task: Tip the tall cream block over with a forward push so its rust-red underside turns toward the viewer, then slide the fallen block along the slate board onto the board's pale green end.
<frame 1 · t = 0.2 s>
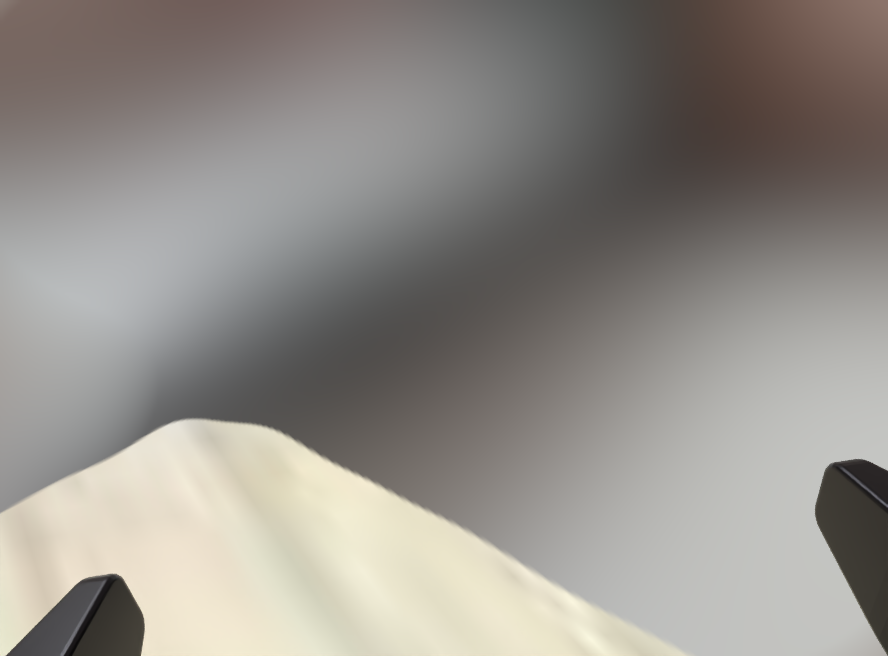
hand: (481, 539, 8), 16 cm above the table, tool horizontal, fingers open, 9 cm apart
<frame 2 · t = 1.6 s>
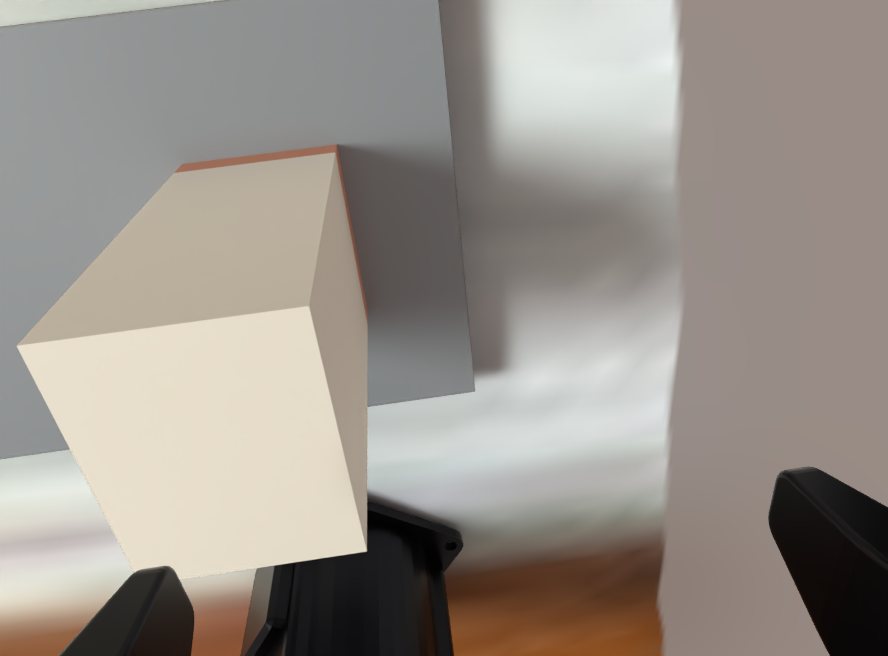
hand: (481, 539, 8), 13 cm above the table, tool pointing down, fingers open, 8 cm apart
cream block: (281, 243, 18), point 1 cm above the table, touching board
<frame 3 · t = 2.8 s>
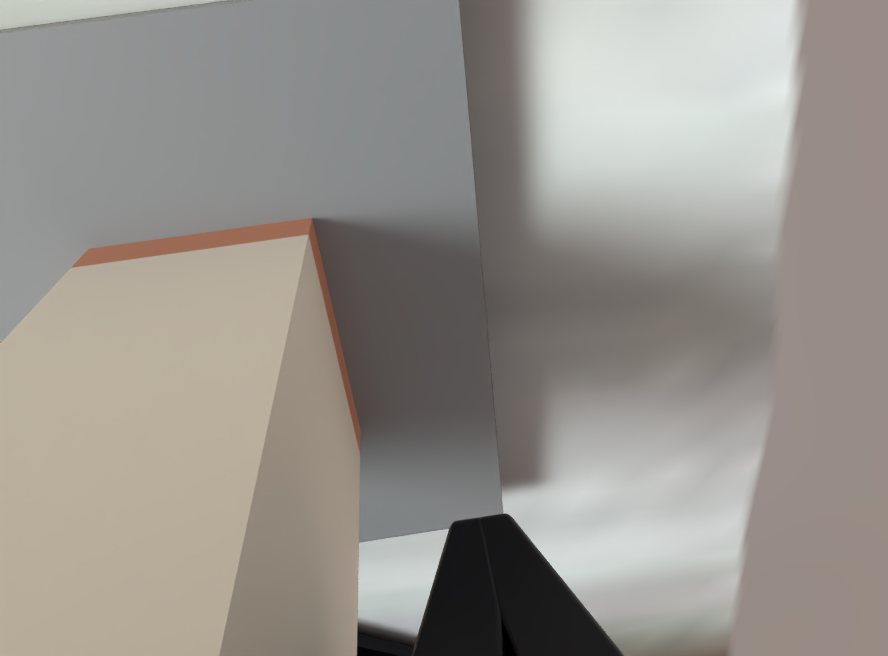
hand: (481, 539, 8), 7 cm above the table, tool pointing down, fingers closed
cream block: (239, 349, 13), point 1 cm above the table, touching board, gripper
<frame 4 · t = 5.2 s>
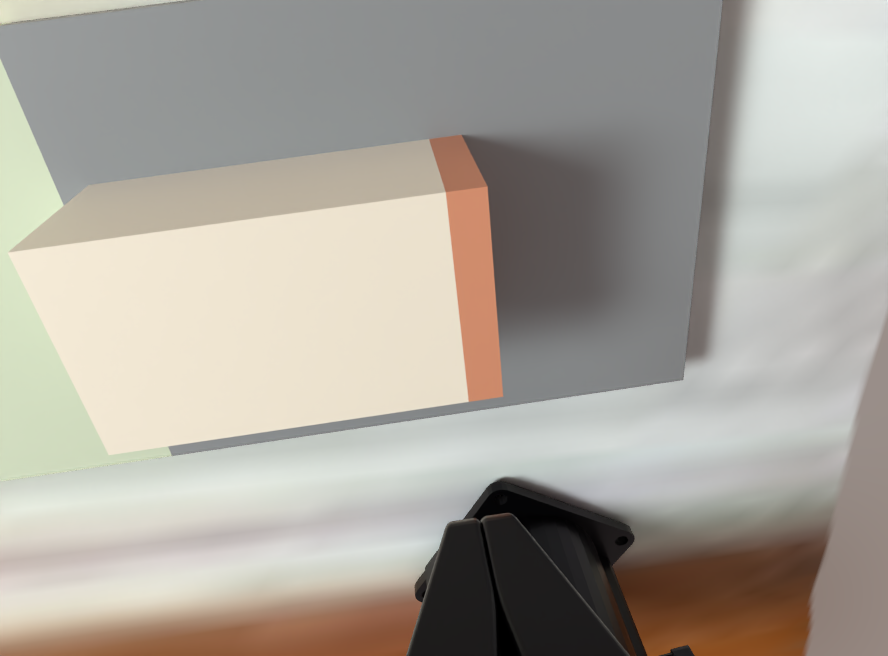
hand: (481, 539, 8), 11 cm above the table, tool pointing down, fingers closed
cream block: (481, 261, 15), point 3 cm above the table, tilted 90°, touching board
board: (185, 252, 18), on the table
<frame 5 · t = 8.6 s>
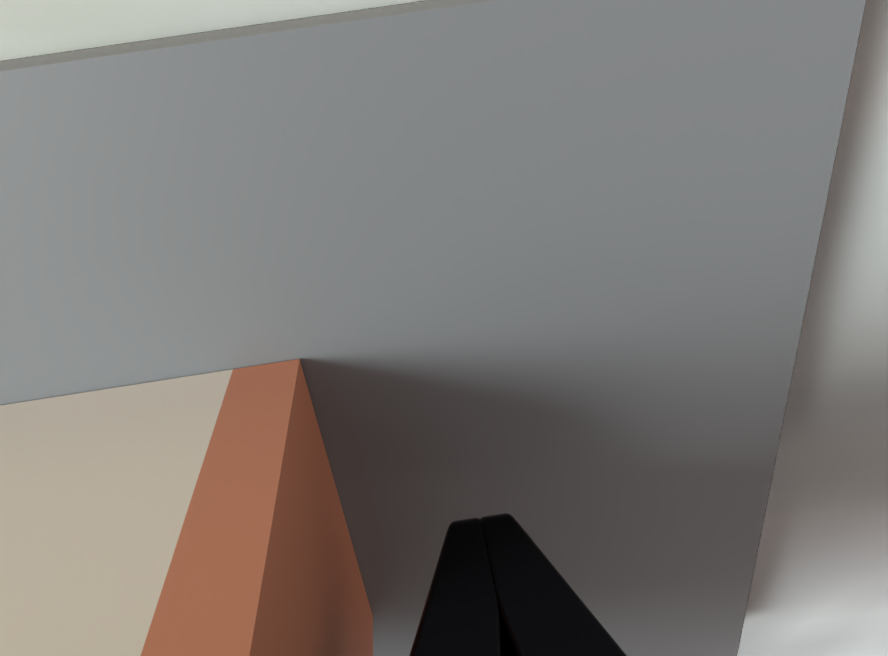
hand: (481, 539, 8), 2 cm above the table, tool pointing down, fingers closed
cream block: (335, 637, 7), point 3 cm above the table, tilted 90°, touching gripper
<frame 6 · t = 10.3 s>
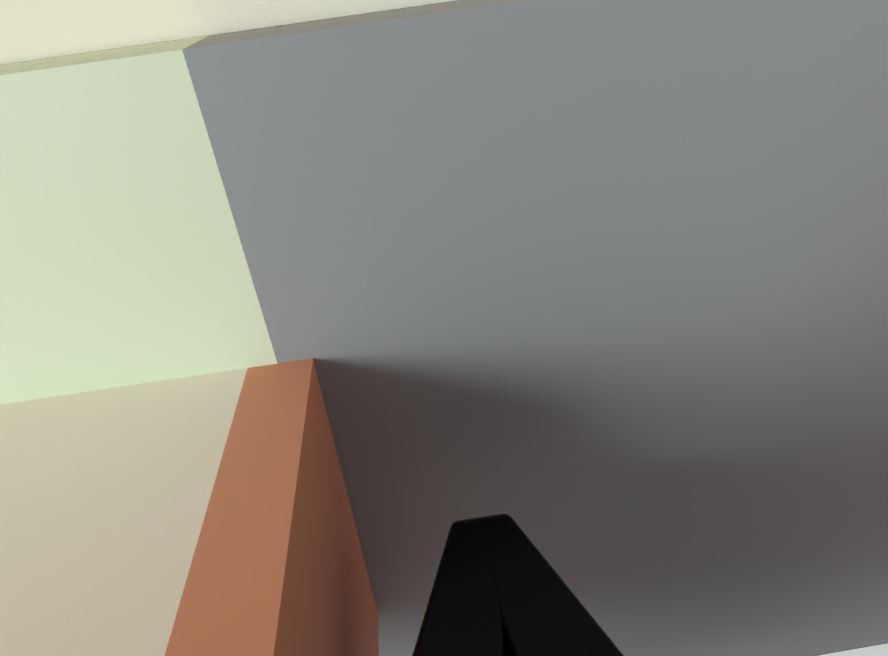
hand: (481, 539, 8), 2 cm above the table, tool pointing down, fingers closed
cream block: (346, 632, 7), point 3 cm above the table, tilted 90°, touching board, gripper
board: (450, 428, 10), on the table
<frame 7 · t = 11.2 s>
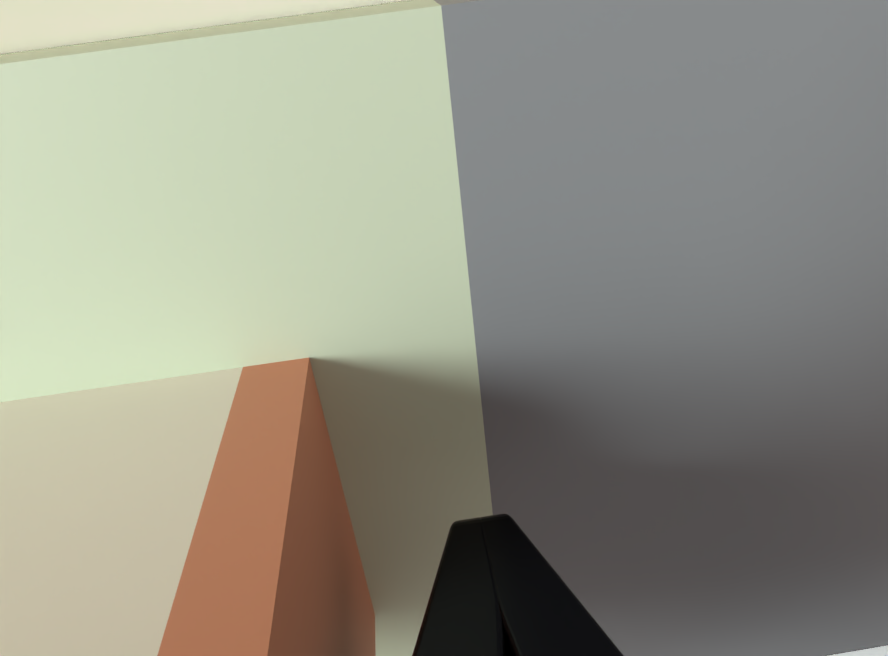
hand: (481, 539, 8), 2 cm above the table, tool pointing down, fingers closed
cream block: (342, 634, 7), point 3 cm above the table, tilted 90°, touching board, gripper
board: (601, 404, 10), on the table
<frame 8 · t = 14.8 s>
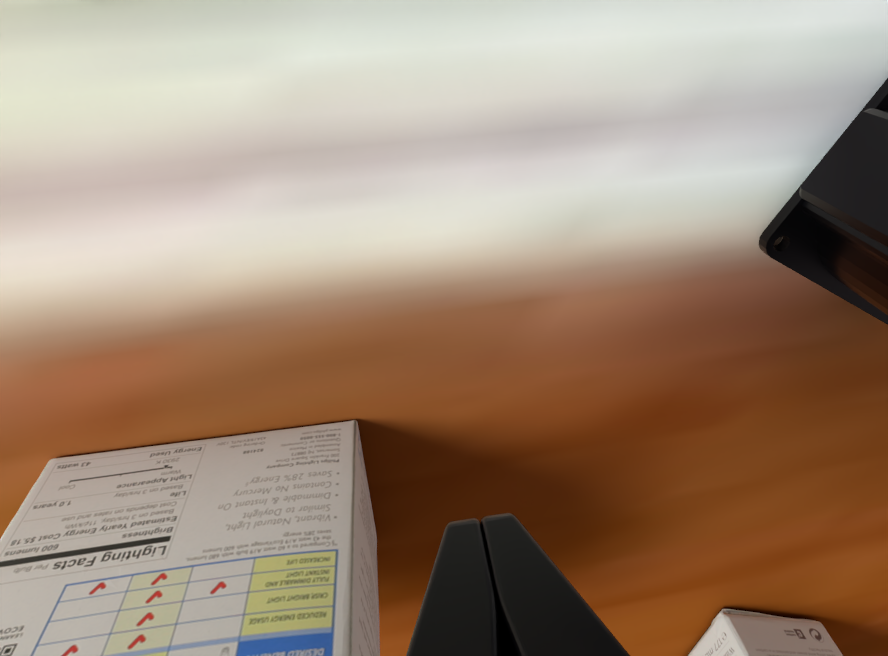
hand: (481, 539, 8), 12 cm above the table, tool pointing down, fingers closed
light bulb box: (229, 498, 24), on the table
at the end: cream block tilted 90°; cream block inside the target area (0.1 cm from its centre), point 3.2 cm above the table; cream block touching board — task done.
